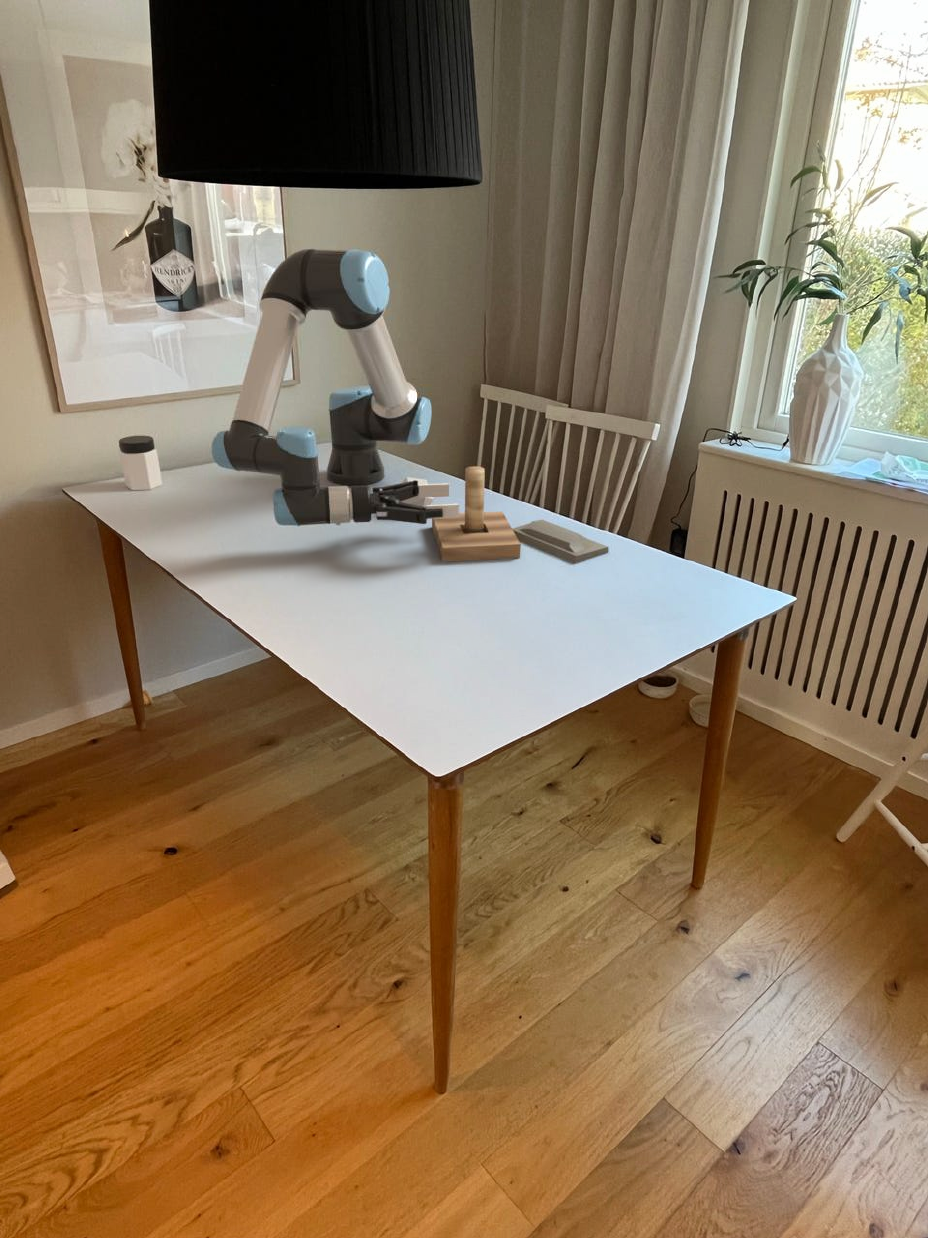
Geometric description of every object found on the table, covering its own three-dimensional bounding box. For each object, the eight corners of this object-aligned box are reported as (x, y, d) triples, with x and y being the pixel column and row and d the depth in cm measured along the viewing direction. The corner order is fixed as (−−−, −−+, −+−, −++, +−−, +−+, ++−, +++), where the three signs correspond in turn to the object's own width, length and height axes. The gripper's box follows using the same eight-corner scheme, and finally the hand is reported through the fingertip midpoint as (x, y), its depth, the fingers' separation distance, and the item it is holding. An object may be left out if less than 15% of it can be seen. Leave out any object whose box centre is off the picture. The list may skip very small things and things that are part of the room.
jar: (143, 479, 209) (134, 433, 203) (168, 482, 206) (161, 436, 201) (119, 488, 201) (109, 441, 196) (145, 492, 199) (136, 445, 193)
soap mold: (574, 566, 161) (576, 550, 159) (508, 538, 175) (508, 523, 173) (608, 554, 167) (610, 539, 165) (541, 528, 180) (542, 513, 179)
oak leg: (463, 538, 173) (463, 466, 165) (481, 537, 173) (483, 466, 166) (465, 545, 169) (466, 472, 162) (484, 544, 169) (486, 471, 162)
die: (439, 511, 190) (425, 474, 191) (435, 504, 181) (420, 466, 182) (407, 524, 191) (393, 487, 191) (402, 518, 182) (387, 479, 183)
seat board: (432, 527, 179) (431, 514, 177) (501, 524, 181) (502, 511, 180) (442, 561, 161) (442, 547, 160) (520, 557, 163) (520, 544, 162)
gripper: (350, 502, 176) (445, 498, 179) (354, 543, 154) (462, 538, 157) (348, 469, 172) (445, 465, 175) (352, 506, 150) (463, 501, 153)
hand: (453, 499), depth 166 cm, fingers open, 13 cm apart
